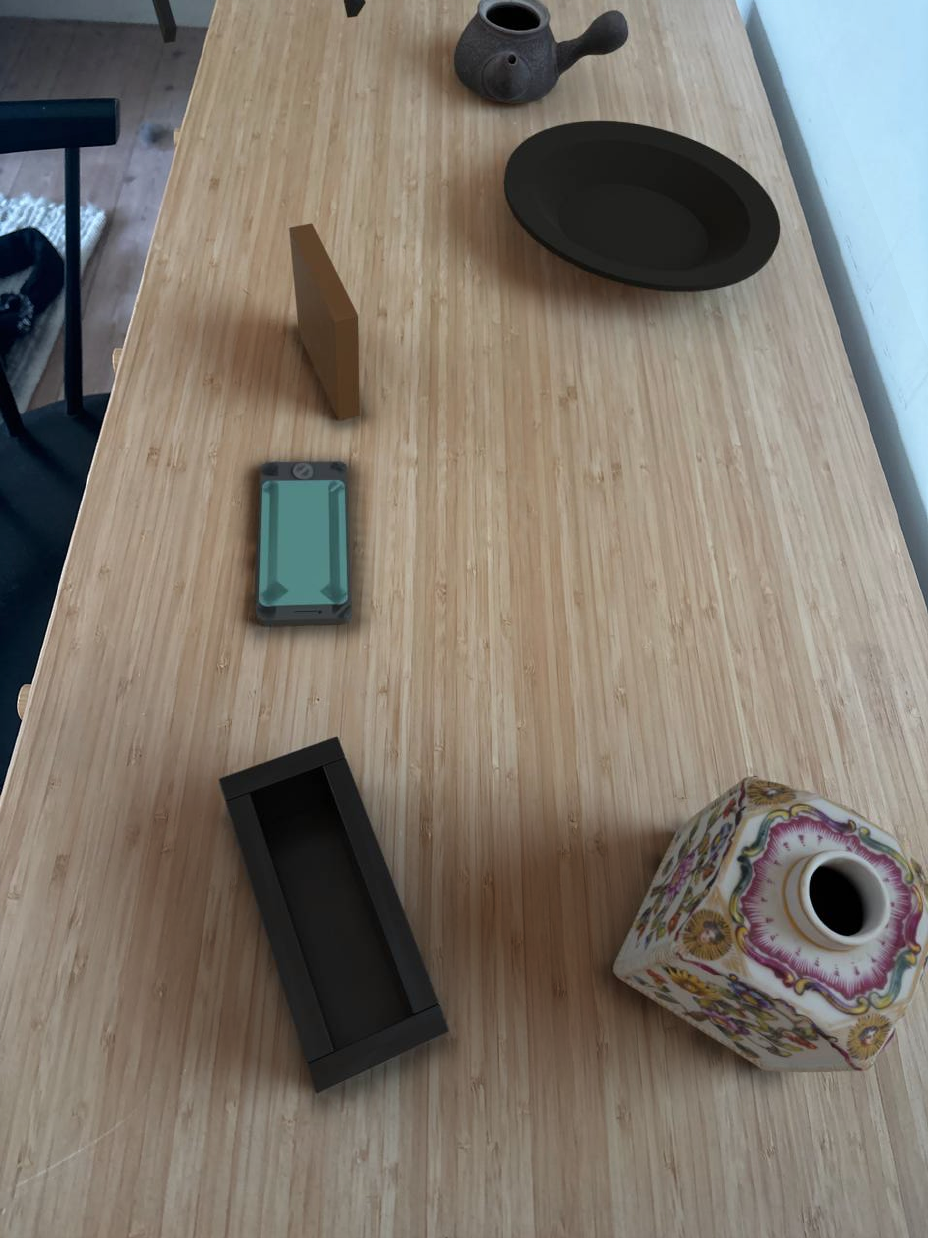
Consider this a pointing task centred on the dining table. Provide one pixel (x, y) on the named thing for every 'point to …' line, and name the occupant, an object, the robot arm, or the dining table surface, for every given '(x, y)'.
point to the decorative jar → (783, 929)
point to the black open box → (331, 914)
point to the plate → (641, 206)
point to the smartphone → (303, 544)
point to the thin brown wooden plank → (326, 321)
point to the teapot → (526, 49)
